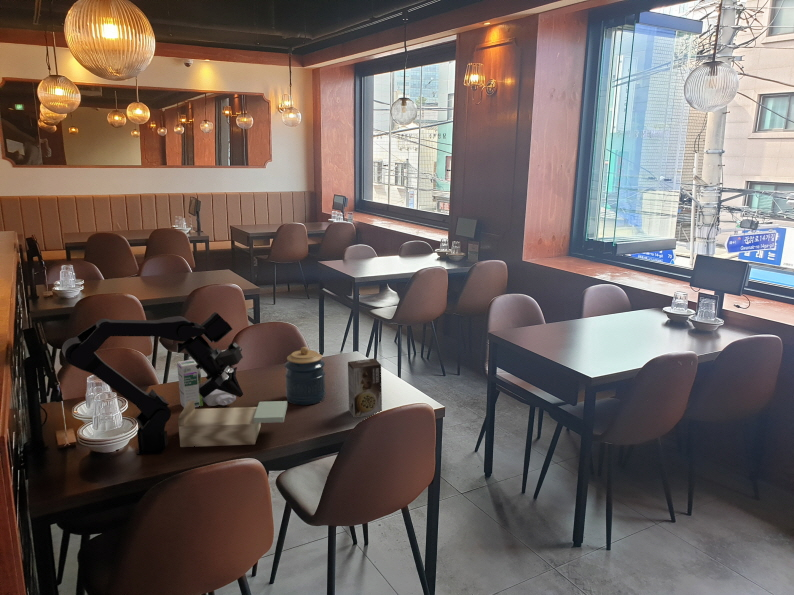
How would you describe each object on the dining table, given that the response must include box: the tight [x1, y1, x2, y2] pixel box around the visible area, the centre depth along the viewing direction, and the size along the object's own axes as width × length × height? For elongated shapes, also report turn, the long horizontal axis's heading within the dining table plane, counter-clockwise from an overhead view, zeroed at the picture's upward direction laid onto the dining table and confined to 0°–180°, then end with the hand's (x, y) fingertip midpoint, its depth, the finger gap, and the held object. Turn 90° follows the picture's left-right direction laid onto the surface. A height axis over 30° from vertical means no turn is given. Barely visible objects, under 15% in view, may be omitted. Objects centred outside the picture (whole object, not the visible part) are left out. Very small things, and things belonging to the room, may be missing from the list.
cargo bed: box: [177, 401, 262, 448], centre depth 172 cm, size 20×12×8 cm, turn 95°
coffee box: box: [347, 358, 383, 418], centre depth 189 cm, size 9×6×16 cm
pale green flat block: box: [254, 400, 288, 424], centre depth 173 cm, size 2×12×8 cm
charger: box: [203, 389, 237, 407], centre depth 197 cm, size 5×9×15 cm
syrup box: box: [176, 359, 204, 409], centre depth 194 cm, size 6×6×14 cm
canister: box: [284, 346, 327, 406], centre depth 200 cm, size 13×13×18 cm
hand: (241, 395), depth 171 cm, fingers closed
